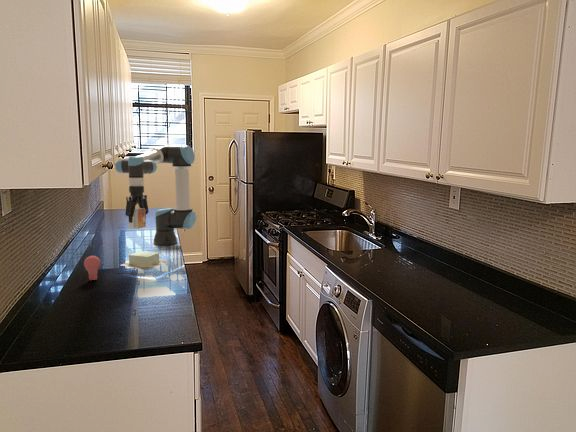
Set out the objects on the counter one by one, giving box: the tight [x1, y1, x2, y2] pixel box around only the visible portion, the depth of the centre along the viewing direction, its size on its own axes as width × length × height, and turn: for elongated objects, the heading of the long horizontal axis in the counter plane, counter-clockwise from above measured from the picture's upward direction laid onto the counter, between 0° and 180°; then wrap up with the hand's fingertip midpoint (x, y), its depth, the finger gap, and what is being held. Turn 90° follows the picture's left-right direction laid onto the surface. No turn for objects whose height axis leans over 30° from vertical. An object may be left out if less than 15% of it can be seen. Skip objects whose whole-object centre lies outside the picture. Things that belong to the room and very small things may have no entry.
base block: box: [128, 250, 160, 266], centre depth 236 cm, size 10×12×5 cm
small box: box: [128, 207, 147, 230], centre depth 237 cm, size 8×6×10 cm
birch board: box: [119, 259, 169, 270], centre depth 237 cm, size 18×18×1 cm
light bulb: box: [83, 255, 101, 281], centre depth 208 cm, size 7×7×12 cm
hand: (137, 227), depth 237 cm, fingers closed on small box, 8 cm apart
